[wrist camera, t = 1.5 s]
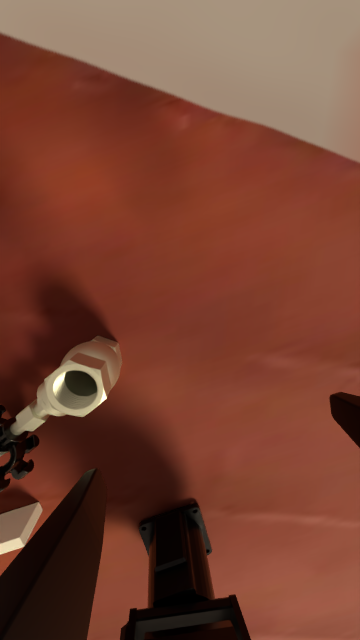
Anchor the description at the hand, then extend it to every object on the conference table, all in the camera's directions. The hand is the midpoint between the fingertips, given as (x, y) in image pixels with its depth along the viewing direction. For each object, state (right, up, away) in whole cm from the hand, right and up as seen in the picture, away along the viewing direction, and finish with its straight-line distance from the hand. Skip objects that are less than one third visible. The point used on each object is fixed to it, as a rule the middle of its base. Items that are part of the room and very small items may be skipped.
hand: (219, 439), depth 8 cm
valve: (-12, -1, +12) cm, 17 cm away
